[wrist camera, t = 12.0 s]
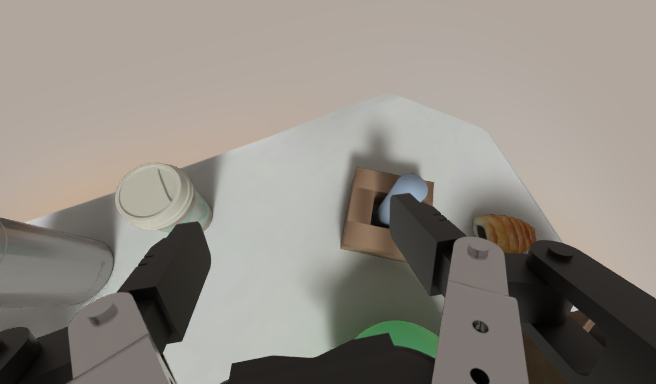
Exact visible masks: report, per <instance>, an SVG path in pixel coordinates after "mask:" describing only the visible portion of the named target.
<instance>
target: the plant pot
mask: <svg viewBox="0 0 656 384" xmlns="http://www.w3.org/2000/svg"><path fill="white" fill-rule="evenodd" d="M569 316H570V317H571V318H573V319H574V320H575V321H576V322H577V323H578V324H579V325H580V326H581V327H583V328H584V329H585V330H586V331H587V332H588V333H589V334H590V335H591V336H592V337H594V338H595V339H596V340H597V341H598V342H599V343H600V344H601V345H602V346H604V347H606V339H605V336H604V334H603V333H602V331H601V330H600V328H599V327H598V326H597V325H596V324H595V323H594V322H592V321H591V320H590V319H589V318H588V317H587V316H585V315H584V314H583V313H582V312H581V311H580V310H578V311H575V312H570V313H569ZM521 331H522V339H523V346H524V353H525V360H526V367H527V374H528V382H529V384H568V382H567V381H566V380H565V379H564V378H563V377H562V375H561V374H560V373H559V372H558V371H557V370H556V368H555V367H554V366H553V365H552V364H551V363H550V361H549V360H548V359H547V358H546V357H545V356H544V355H543V353H542V352H541V351H540V350H539V349H538V348H537V346H536V345H535V344H534V343H533V342H532V341H531V339H530V338H529V337H528V336H527V335H526V334H525V333H524V331H523V330H522V329H521Z"/></svg>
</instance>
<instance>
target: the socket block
mask: <svg viewBox="0 0 656 384" xmlns="http://www.w3.org/2000/svg"><path fill="white" fill-rule="evenodd" d="M400 177H401V176H399V175H394V174H389V173H384V172H378V171H373V170H368V169H363V168H358V167H357V169H356V172H355V176H354V179H353V184H352V189H351V195H350V200H349V206H348V211H347V217H346V222H345V227H344V233H343V238H342V244H341V249H345V250H349V251H354V252H359V253H364V254H369V255H373V256H378V257H383V258H388V259H392V260H397V261H402V262H407V261H406V259H405V258H404V256H403V255H402V253H401V252H400V250H399V249H398V247H397V246H396V244H395V243H394V241H393V240H392V237H391V235H390V230H389V229H387V228H382V227H377V226H372V225H370V223H371V216H372V209H373V202H374V203H379V204H382V202H383V201H384V199H385V198H386V196H387V195H388V194H389V192H390V191H391V189H392V188H393V186H394V185H395V183H396V182H397V180H398V179H399V178H400ZM425 183H426V185H427V188H428V192H427V196H426V197H425V199H424V200H422V201H421V202H424V203H426V204H428V205H431V206H433V188H434V182H430V181H425ZM407 263H408V262H407Z"/></svg>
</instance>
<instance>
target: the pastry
mask: <svg viewBox="0 0 656 384" xmlns="http://www.w3.org/2000/svg"><path fill="white" fill-rule="evenodd" d="M472 228H473V232H474V235H475V237H478V238H482V239H486V240H488V241H491V242H492V243H494V244H496V245H497V246H499V247H500V248H501V249H502V251H503V252H504V253H522V252H524V251H526V250H527V249H530V246H531V244H532V243H533V242H536V237H535V229H534V228H533V227H531V226H530V225H529V224H527V223H525V222H523V221H522V220H520V219H515V218H513V217H506V216H505V215H498V216H496V215H493V214H490V215H486V216H481V217H479V216H477V217H475V218H474V220H473V226H472Z"/></svg>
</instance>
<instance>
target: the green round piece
mask: <svg viewBox="0 0 656 384" xmlns="http://www.w3.org/2000/svg"><path fill="white" fill-rule="evenodd" d="M384 333H389V334H390V337H391V339H392V342H393V344H394V345H397V346H404V347H409V348H412V349H415V350H419V351H421V352H423V353H426V354H428V355H430V356H432V357H433V358H435V356H436V350H437V344H438V338H439V336H437V335H436V334H434V333H433V332H431V331H430V330H428V329H426V328H424V327H422V326H420V325H417V324H414V323H411V322H407V321H400V320H392V321H385V322H381V323H378V324H375V325H373V326H371V327H369V328H367V329H366V330H364V331H363V332H362V333H360V334H359V335H358V336H357V337H356V338H355V339H359V338H364V337H369V336H374V335H379V334H384Z"/></svg>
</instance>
